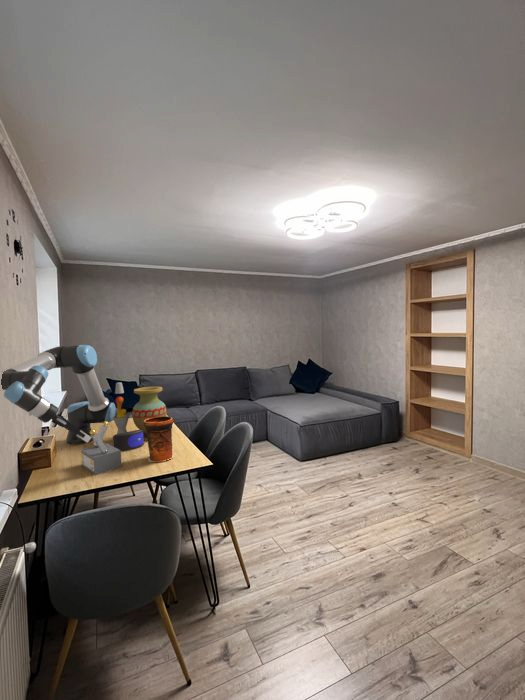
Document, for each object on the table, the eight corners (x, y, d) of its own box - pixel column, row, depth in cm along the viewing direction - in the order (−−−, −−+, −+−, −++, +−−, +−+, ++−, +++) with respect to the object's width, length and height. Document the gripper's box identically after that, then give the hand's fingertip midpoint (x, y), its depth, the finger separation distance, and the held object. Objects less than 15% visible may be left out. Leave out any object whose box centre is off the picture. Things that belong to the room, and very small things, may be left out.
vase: (132, 436, 214) (129, 388, 212) (165, 431, 222) (163, 385, 220) (134, 445, 196) (131, 392, 194) (170, 439, 203) (167, 389, 202)
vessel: (144, 465, 164) (142, 423, 164) (146, 455, 178) (144, 417, 178) (175, 461, 168) (173, 420, 168) (175, 452, 182) (173, 414, 181)
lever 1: (92, 445, 170) (103, 420, 173) (97, 446, 171) (107, 421, 175) (95, 446, 167) (105, 421, 171) (99, 447, 169) (110, 422, 173)
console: (80, 466, 167) (79, 450, 166) (107, 458, 176) (106, 443, 175) (94, 475, 155) (92, 457, 154) (121, 466, 164) (120, 450, 163)
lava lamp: (119, 444, 198) (115, 384, 196) (111, 442, 203) (107, 383, 201) (133, 440, 205) (130, 381, 203) (125, 437, 211) (121, 381, 209)
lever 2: (101, 452, 161) (87, 431, 157) (106, 449, 163) (92, 428, 158) (104, 454, 159) (90, 432, 154) (108, 451, 160) (95, 429, 156)
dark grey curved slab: (115, 453, 183) (114, 436, 182) (113, 451, 186) (112, 434, 186) (146, 446, 192) (145, 430, 192) (143, 444, 196) (142, 428, 196)
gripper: (32, 415, 145) (78, 444, 158) (41, 420, 136) (88, 450, 149) (46, 401, 149) (89, 430, 162) (55, 404, 140) (100, 435, 152)
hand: (89, 439), depth 155 cm, fingers closed
